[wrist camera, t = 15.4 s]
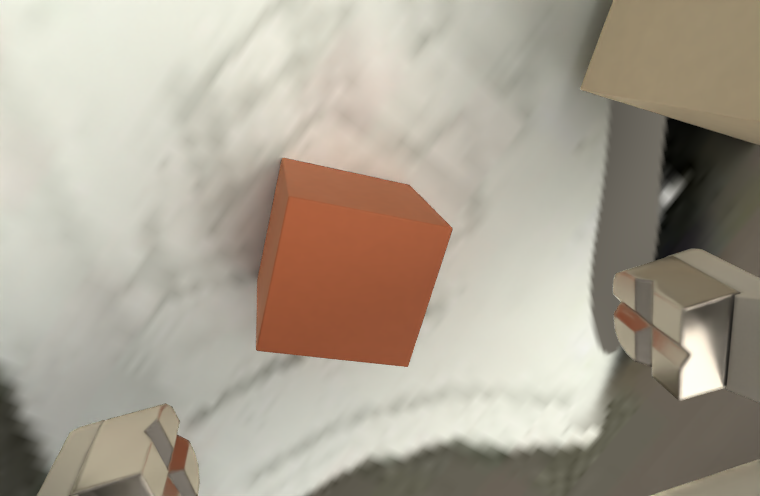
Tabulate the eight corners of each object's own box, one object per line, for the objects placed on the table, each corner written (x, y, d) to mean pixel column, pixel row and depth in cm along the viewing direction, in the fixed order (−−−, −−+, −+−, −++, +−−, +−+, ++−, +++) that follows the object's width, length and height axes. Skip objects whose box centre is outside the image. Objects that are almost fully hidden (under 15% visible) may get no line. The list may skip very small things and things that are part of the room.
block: (256, 280, 16) (255, 351, 13) (282, 156, 15) (288, 195, 11) (377, 298, 17) (408, 367, 14) (410, 184, 16) (453, 228, 12)
